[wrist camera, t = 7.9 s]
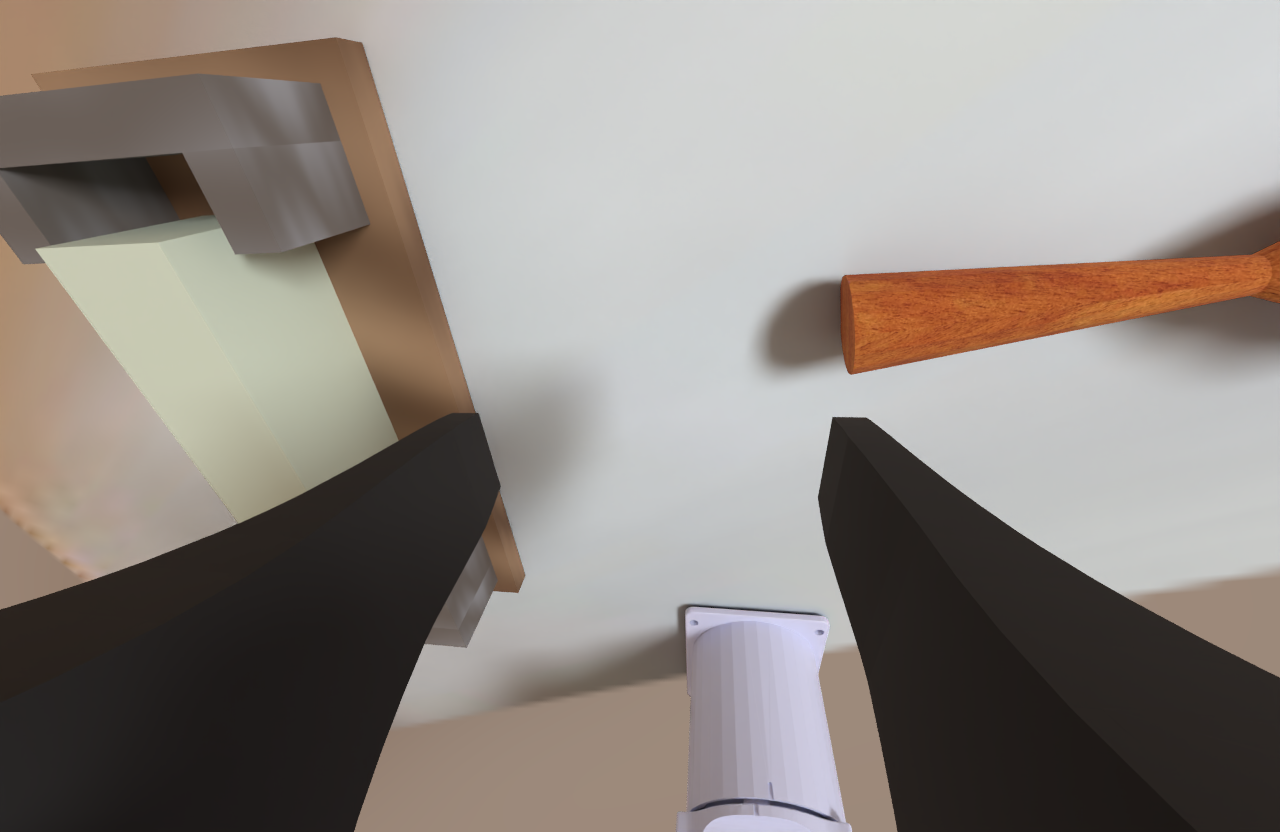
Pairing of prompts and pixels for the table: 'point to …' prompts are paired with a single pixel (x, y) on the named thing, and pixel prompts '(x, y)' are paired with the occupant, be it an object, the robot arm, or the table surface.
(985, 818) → the robot arm
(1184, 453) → the table surface
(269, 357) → the slat
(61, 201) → the cradle
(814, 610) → the table surface
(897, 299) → the brown piece
